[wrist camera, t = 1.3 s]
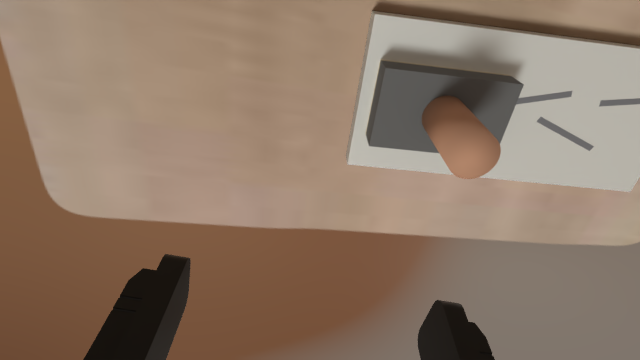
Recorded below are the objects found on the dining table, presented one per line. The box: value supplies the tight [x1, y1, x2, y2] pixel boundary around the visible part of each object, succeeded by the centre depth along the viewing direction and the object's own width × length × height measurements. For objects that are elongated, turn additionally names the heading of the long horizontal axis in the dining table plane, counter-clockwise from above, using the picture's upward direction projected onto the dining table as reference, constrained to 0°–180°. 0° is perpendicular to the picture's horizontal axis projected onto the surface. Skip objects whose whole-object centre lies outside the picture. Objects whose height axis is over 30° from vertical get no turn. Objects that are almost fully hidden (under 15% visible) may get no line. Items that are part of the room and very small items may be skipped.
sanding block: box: [365, 59, 524, 179], centre depth 27 cm, size 10×6×8 cm, turn 83°
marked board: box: [346, 11, 640, 192], centre depth 32 cm, size 26×12×2 cm, turn 83°
